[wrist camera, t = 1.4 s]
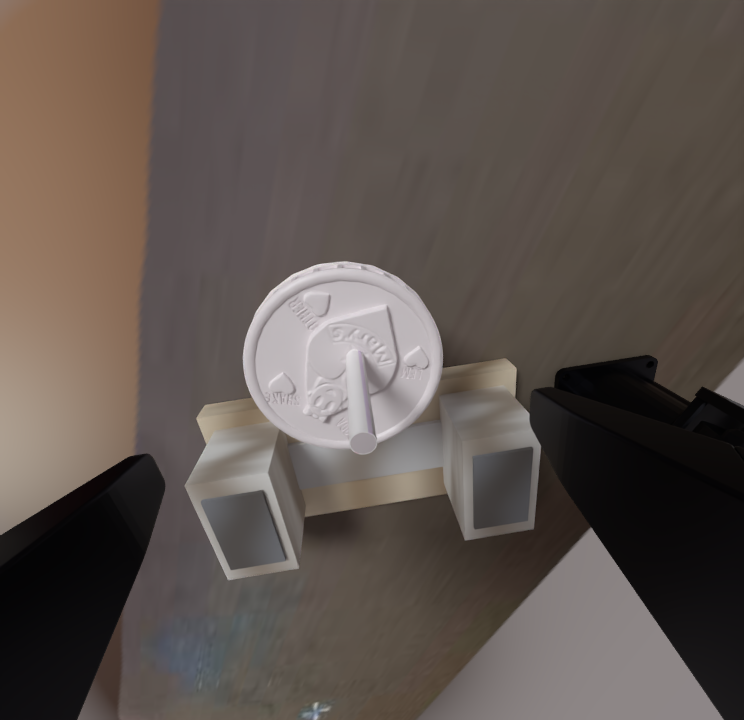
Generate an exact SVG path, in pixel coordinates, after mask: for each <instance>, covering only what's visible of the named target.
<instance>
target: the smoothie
mask: <svg viewBox="0 0 744 720" xmlns="http://www.w3.org/2000/svg"><path fill="white" fill-rule="evenodd" d="M442 366H443V350H442V343H441V338H440V335H439V332H438V328H437V326H436V324H435V322H434V320H433V318H432V316H431V314H430V312H429V311H428V309H427V308H426V306H425V305H424V303H423V301H422V300H421V298H420V297H419V295H418V294H417V293H416V292H415V291H414V290H412V289H411V288H410V287H409V286H408V285H407V284H405V283H404V282H403V281H402V280H401V279H399V278H398V277H397V276H395V275H392V274H390V273H388V272H386V271H384V270H381V269H379V268H377V267H375V266H372V265H366V264H360V263H353V262H347V261H344V262H334V263H325V264H317V265H315V266H312V267H310V268H307V269H305V270H302V271H300V272H297V273H295V274H292V275H291V276H290V277H288V278H287V279H286V280H285V281H283V282H282V283H281V284H279V285H278V286H277V287H275V288H274V289H273V290H272V291H271V292H270V293H269V294H268V296H267V297H266V299H265V300H264V301H263V303H262V304H261V305H260V307H259V308H258V310H257V311H256V313H255V316H254V319H253V321H252V323H251V325H250V327H249V330H248V333H247V336H246V339H245V344H244V351H243V368H244V375H245V379H246V383H247V386H248V389H249V391H250V394H251V396H252V398H253V400H254V401H255V403H256V405H257V406H258V408H259V409H260V410H261V412H262V413H263V414H264V415H265V416H266V417H267V419H268V420H269V421H270V422H272V423H273V424H274V425H275V426H276V427H277V428H279V429H280V430H282V431H283V432H284V433H286V434H288V435H289V436H291V437H293V438H295V439H297V440H299V441H302V442H304V443H307V444H310V445H314V446H318V447H323V448H329V449H352V451H353V452H355V453H357V454H368V453H371V452H372V451H373V450H374V449H375V448H376V446H377V444H378V443H380V442H383V441H385V440H388V439H390V438H392V437H394V436H395V435H397V434H399V433H400V432H402V431H403V430H405V429H406V428H408V427H409V426H410V425H411V424H412V423H414V422H415V421H416V420H417V419H418V418H419V417H420V415H421V414H422V413H423V412H424V411H425V409H426V408H427V407H428V405H429V404H430V402H431V400H432V398H433V397H434V395H435V392H436V390H437V388H438V385H439V382H440V378H441V374H442Z"/></svg>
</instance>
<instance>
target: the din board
mask: <svg viewBox="0 0 744 720" xmlns="http://www.w3.org/2000/svg"><path fill="white" fill-rule="evenodd" d="M516 371H517V368H516V367H515V366H513V365H512V364H511V363H510V362H509V361H508V360H507V359H506V358H504V359H498V360H491V361H485V362H478V363H472V364H466V365H459V366H453V367H446V368H442V374H441V378H440V382H439V385H438V388H437V390H436V392H435V395H434V397H433V398H432V400H431V402H430V404H429V405H428V407H427V408H426V409H425V411H424V412H423V413H422V414H421V415H420V417H419V418H418V419H417V420H416V421H415V422H414V423H412V424H411V425H410V426H409V427H408V428H406V429H405V430H403V431H402V432H400V433H399V434H397V435H395V436H394V437H392V438H390V439H388V440H385V441H383V442H380V443H378V444H377V446H376V448H375V449H374V450H373V451H372V452H371V453H368V454H357V453H355V452H353V451H352V449H329V448H323V447H318V446H314V445H310V444H307V443H304V442H302V441H299V440H297V439H295V438H293V437H291V436H289V435H288V434H286V433H284V432H283V431H282V430H280V429H279V428H277V427H276V426H275V425H274V424H273V423H272V422H270V421H269V420H268V419H267V417H266V416H265V415H264V414H263V413H262V412H261V410H260V409H259V408H258V406H257V405H256V403H255V401H254V400H253V398H247V399H240V400H234V401H227V402H221V403H215V404H208V405H205V406H204V407H203V409H202V410H201V412H200V414H199V415H198V417H197V418H196V419H197V422H198V424H199V427H200V429H201V432H202V434H203V436H204V439H205V441H206V444H207V445H206V447H205V449H204V451H203V453H202V455H201V457H200V458H199V460H198V462H197V464H196V466H195V468H194V470H193V471H192V473H191V475H190V477H189V479H188V481H187V482H186V484H185V488H186V490H187V492H188V494H189V497H190V499H191V501H192V503H193V505H194V507H195V510H196V512H197V514H198V516H199V518H200V520H201V523H202V525H203V527H204V529H205V531H206V533H207V535H208V538H209V540H210V542H211V544H212V546H213V548H214V551H215V553H216V555H217V557H218V559H219V561H220V564H221V566H222V568H223V570H224V572H225V574H226V577H227V579H228V580H232V579H238V578H244V577H250V576H256V575H262V574H268V573H274V572H280V571H286V570H292V569H298V568H299V565H300V556H301V547H302V537H303V528H304V519H305V517H308V516H314V515H320V514H327V513H333V512H339V511H345V510H351V509H357V508H363V507H369V506H375V505H382V504H388V503H394V502H400V501H406V500H412V499H418V498H424V497H430V496H436V495H443V494H448V496H449V498H450V501H451V504H452V507H453V509H454V512H455V515H456V517H457V520H458V523H459V525H460V528H461V531H462V534H463V536H464V539H465V541H466V540H472V539H478V538H483V537H489V536H495V535H501V534H507V533H513V532H519V531H525V530H531V529H534V522H535V510H536V499H537V487H538V475H539V464H540V452H541V445H540V443H539V441H538V440H537V438H536V436H535V434H534V432H533V430H532V428H531V426H530V421H529V416H530V414H529V413H528V412H527V411H526V409H525V408H524V407H523V406H522V405H521V404H520V403H519V402H518V400H517V399H516V398H515V393H516Z"/></svg>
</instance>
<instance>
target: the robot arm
mask: <svg viewBox="0 0 744 720" xmlns="http://www.w3.org/2000/svg"><path fill="white" fill-rule="evenodd" d="M648 362H649V363H648ZM647 363H648V364H647ZM657 364H658V361H657V359H656V358H654V357H652V356H650V355H645V356H638V357H632V358H625V359H619V360H613V361H606V362H600V363H593V364H587V365H581V366H574V367H568V368H563V369H560V370H559V371H558V372H557V373H556V376H555V386H554V388H553V387H545V388H539V389H534V390H533V391H532V393H531V398H530V416H529V421H530V426H531V428H532V430H533V432H534V434H535V436H536V438H537V440H538V441H539V443H540V445H541V447H542V449H543V451H544V453H545V454H546V456H547V458H548V460H549V462H550V464H551V466H552V467H553V469H554V471H555V473H556V475H557V477H558V478H559V480H560V482H561V483H562V485H563V486H564V488H565V490H566V491H567V493H568V494H569V495H570V497H571V498H572V500H573V501H574V503H575V504H576V506H577V507H578V509H579V510H580V511H581V513H582V514H583V516H584V517H585V519H586V520H587V522H588V523H589V525H590V526H591V527H592V529H593V530H594V532H595V533H596V535H597V536H598V538H599V539H600V540H601V542H602V543H603V545H604V546H605V548H606V549H607V551H608V552H609V554H610V555H611V556H612V558H613V559H614V561H615V562H616V564H617V565H618V567H619V568H620V570H621V571H622V572H623V574H624V575H625V577H626V578H627V580H628V581H629V582H630V584H631V585H632V587H633V588H634V590H635V591H636V593H637V594H638V596H639V597H640V599H641V600H642V601H643V603H644V604H645V606H646V607H647V609H648V610H649V612H650V613H651V615H652V616H653V618H654V619H655V620H656V622H657V623H658V625H659V626H660V628H661V629H662V630H663V632H664V633H665V635H666V636H667V638H668V639H669V641H670V642H671V644H672V645H673V647H674V648H675V649H676V651H677V652H678V654H679V655H680V657H681V658H682V660H683V661H684V662H685V664H686V665H687V667H688V668H689V669H690V671H691V673H692V674H693V676H694V677H695V679H696V680H697V681H698V683H699V684H700V686H701V687H702V689H703V690H704V692H705V693H706V694H707V696H708V697H709V699H710V700H711V702H712V703H713V705H714V706H715V708H716V709H717V710H718V712H719V713H720V715H721V716H722V718H723V719H724V720H744V406H743V405H741V404H739V403H737V402H734V401H732V400H730V399H728V398H726V397H724V396H722V395H720V394H717V393H715V392H713V391H711V390H709V389H707V388H704V387H701V389H700V390H699V391H698V392H697V393H696V394H695V396H696V398H695V399H694V400H693V401H692V402H689V401H687V400H686V399H684V398H682V397H680V396H679V395H677V394H675V393H674V392H672V391H670V390H668V389H667V388H665V387H663V386H661V385H660V384H658V383H656V382H654V377H655V373H656V369H657ZM566 374H567V375H566ZM564 375H566V377H565V378H563V376H564ZM164 492H165V480H164V478H163V476H162V474H161V472H160V470H159V468H158V466H157V464H156V462H155V460H154V458H153V457H152V456H151V455H150V454H140V455H134V456H130V457H128V458H126V459H124V460H123V461H121V462H119V463H118V464H116V465H114V466H113V467H111V468H109V469H108V470H106V471H105V472H103V473H102V474H100V475H98V476H96V477H95V478H93V479H92V480H90V481H88V482H87V483H85V484H83V485H82V486H80V487H78V488H77V489H75V490H74V491H72V492H70V493H69V494H67V495H65V496H64V497H62V498H61V499H59V500H57V501H56V502H54V503H52V504H51V505H49V506H48V507H46V508H44V509H43V510H41V511H40V512H38V513H36V514H34V515H33V516H31V517H30V518H28V519H26V520H25V521H23V522H21V523H20V524H18V525H17V526H15V527H13V528H12V529H10V530H9V531H7V532H5V533H4V534H2V535H0V720H77V719H78V716H79V714H80V712H81V709H82V707H83V704H84V702H85V700H86V697H87V694H88V692H89V690H90V688H91V685H92V682H93V680H94V678H95V675H96V673H97V671H98V668H99V666H100V663H101V661H102V659H103V656H104V653H105V651H106V649H107V646H108V644H109V641H110V639H111V637H112V634H113V632H114V629H115V627H116V625H117V622H118V620H119V617H120V615H121V613H122V610H123V608H124V605H125V603H126V601H127V598H128V596H129V593H130V591H131V588H132V586H133V584H134V581H135V579H136V576H137V574H138V571H139V569H140V567H141V564H142V562H143V559H144V556H145V554H146V551H147V548H148V545H149V542H150V538H151V535H152V532H153V528H154V525H155V522H156V518H157V515H158V512H159V509H160V505H161V502H162V499H163V495H164Z"/></svg>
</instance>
